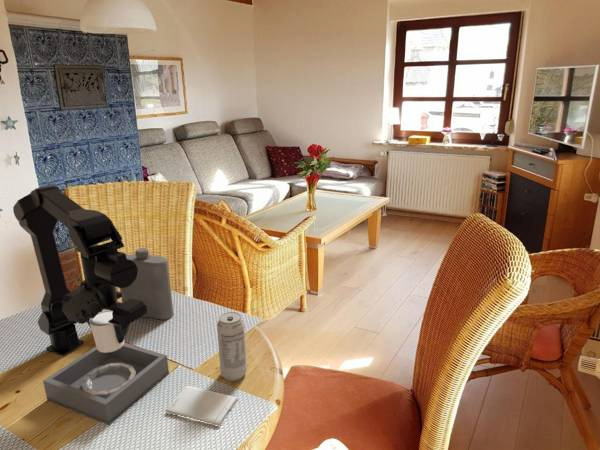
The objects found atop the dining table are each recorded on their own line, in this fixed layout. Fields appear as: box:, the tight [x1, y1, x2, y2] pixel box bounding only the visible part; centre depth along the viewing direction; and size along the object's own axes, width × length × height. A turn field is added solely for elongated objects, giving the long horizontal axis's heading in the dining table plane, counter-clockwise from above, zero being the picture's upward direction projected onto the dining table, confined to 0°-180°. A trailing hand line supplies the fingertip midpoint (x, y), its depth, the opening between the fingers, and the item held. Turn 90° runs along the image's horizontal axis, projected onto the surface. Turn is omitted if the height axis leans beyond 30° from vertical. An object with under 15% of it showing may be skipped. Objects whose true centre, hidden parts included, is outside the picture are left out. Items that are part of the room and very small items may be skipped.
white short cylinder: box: [89, 310, 125, 353], centre depth 100 cm, size 7×7×7 cm
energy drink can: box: [216, 311, 248, 382], centre depth 104 cm, size 6×6×15 cm
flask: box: [119, 247, 174, 321], centre depth 131 cm, size 15×6×20 cm, turn 80°
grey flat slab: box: [165, 385, 239, 427], centre depth 96 cm, size 2×8×12 cm
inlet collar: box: [81, 363, 136, 399], centre depth 102 cm, size 11×11×2 cm
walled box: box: [42, 342, 170, 426], centre depth 102 cm, size 18×18×5 cm
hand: (109, 339), depth 101 cm, fingers closed on white short cylinder, 6 cm apart
